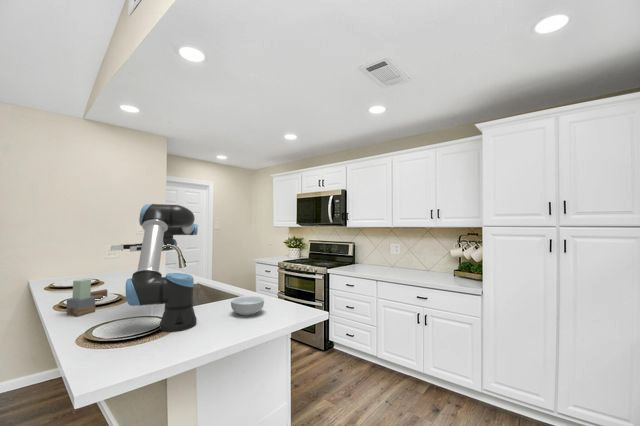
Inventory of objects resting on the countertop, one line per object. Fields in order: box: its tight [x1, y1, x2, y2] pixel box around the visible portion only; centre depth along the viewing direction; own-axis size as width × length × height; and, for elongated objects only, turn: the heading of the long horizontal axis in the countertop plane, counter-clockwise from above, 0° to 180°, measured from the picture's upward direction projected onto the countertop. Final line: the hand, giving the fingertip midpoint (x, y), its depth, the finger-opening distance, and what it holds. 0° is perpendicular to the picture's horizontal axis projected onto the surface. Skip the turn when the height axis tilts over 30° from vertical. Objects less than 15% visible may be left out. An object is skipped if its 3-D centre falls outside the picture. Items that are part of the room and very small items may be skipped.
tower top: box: [65, 296, 96, 309], centre depth 145 cm, size 8×8×4 cm
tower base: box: [66, 304, 96, 318], centre depth 145 cm, size 8×8×4 cm
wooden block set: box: [90, 289, 108, 299], centre depth 168 cm, size 17×6×18 cm
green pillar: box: [71, 278, 92, 300], centre depth 145 cm, size 5×5×9 cm
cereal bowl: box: [230, 295, 265, 317], centre depth 149 cm, size 17×17×7 cm
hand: (120, 248), depth 156 cm, fingers open, 13 cm apart
